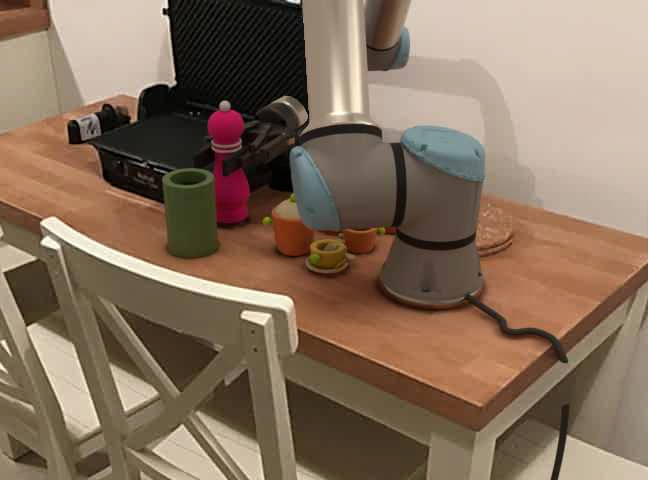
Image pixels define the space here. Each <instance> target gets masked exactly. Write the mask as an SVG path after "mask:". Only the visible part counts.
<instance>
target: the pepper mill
mask: <svg viewBox="0 0 648 480" xmlns="http://www.w3.org/2000/svg"><path fill="white" fill-rule="evenodd" d="M244 124H245V122H244V120H243V117H242V115H241V114H240V113H239V112H238V111H235V110H232V109H231V104H230V102H229V101H227V100H222V101H221V102H220V103H219V110H217V111H214V112H213V113H212V114H211V115H210V116H209V119H208V121H207V132H208V135H210V136H211V137H212V138H213V140H212V142H211V143H212V150H213V151H215V161H214V167H213V171H212V174H214V182H215V200H216V219H217V223H218V222H219V223H222V224H234V223H239V222H242V221H244V220H246V219H247V218H248V215H249V213H248V204H247V203H246V202H247V201H248V200H249V198H250V196H251V195H250V194H251V191H250V184H249V182H248V179H247V176H246V174H245V172H244V170H243V167H241V168H240V169H238V170H237V171H235V172H234V173H232V174H230V175H229V176H227V177H224V176H223V172H222V160H223V159H225V158H226V157H228V156H230V155H231V154H233V153H235V152H236V151H238V150H240V149H241V148H243V147H242V145H241V142H242V140H241V139H240V136H241V135H242V133H243V131H244Z"/></svg>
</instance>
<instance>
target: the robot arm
mask: <svg viewBox="0 0 648 480" xmlns="http://www.w3.org/2000/svg"><path fill="white" fill-rule="evenodd" d="M301 2H302V4H301V5H302V16H303V23H304V40H305V58H306V75H307V93H308V110H309V124H308V126H307V127H306V128H305V129H304V130H303V131H302V133H301V134H300V135H299V136H298V137H299V145H296V138H295V133H296V132H297V128H299V127H300V126H301V125H303V124H304V123H305V122H306V121H307V119H308V114H307V112H306V110H305V108H304V106H303V105H302V104H301V103H300V102H299V101H298V100H297V99H295V98H293V97H291V96H285V95H283V96H282V97H279V98H277V99H276V100H274V101H272V102H271V103H269V104H267V105H266V106H264V107H262V108H260V109H259V110H258V111H257V112H256V114H255V115H254V117H253V119H252V120H251V121H249V122H244V131H243V133H242V135H241V136H240V139H241V140H242V142H241V145H242V148H241V149H240V150H238V151H236V152H235V153H233V154H231V155H230V156H228V157H226V158H225V159H223V160H222V172H223V176H224V177H227V176H229V175H230V174H232V173H234V172H235V171H237V170H238V169H240V168H244V167H247V166H249V165H250V164H256V163H257V162H259V164H261V165H266V164H268V163H270V162H271V161H272V160H274V159H275V158H277V157H279V156H280V155H282V154H283V153H284V152H286V151H288V150H290V149H291V150H290V152H289V167H290V172H291V173H290V178H291V185H292V189H293V193H294V196H295V201H296V205H297V209H298V212H299V216H300V218H301V220H302V222H303V224H304V225H305V226H306V227H307V228H309V229H311V230H315V231H328V230H333V231H334V232H333V233H339V232H338V231H339V230H343V229H363V228H385V227H396V231H395V233H394V237H393V240H392V243H391V246H390V248H389V251H388V254H387V256H386V259H385V260H384V262H383V264H382V266H381V269H380V272H379V273H380V274H379V287H380V289H381V291H382V292H383V294H385V295H386V296H387V297H388V298H390V299H391V300H393V301H395V302H397V303H400V304H402V305H404V306H408V307H412V308H417V309H424V310H449V309H455V308H458V307H459V308H460V307H462V306H463V307H464V306H466V305H469V304H471V305H472V306H474V307H475V308H477V309H478V310H480V311H482V312H483V313H484V314H486V315H487V316H489V317H490V318H492V319H494V320H495V321H496V322H497V323H498V324H499V330H500V332H501V333H502V334H504V335H507V336H510V337H520V336H529V335H530V336H535V337H539V338H542V339H544V340H546V341H548V342H549V343H550V344H551V345H552V347H553V349H554V351H555V353H556V355H557V357H558V359H559V362H560V363H562V364H568V363H569V359H568V356H567V353H566V351H565V349H564V347H563V346H562V344H561V342H560V340H559V339H558V338H557V336H555V335H553V334H552V333H550V332H548V331H546V330H544V329H540V328H536V327H529V326H528V327H521V328H511V327H508V322H507V320H506V318H505V317H503V316H502V315H501V314H500V313H498V312H497V311H496V310H494V309H492V308H491V307H489V306H488V305H486V304H485V303H484V302H482V301H481V300H480V299H478V298H479V297H480V295H481V293H482V290H483V285H484V274H483V273H484V272H483V269H482V265H481V260H480V259H481V258H480V255H479V250H478V246H477V240H476V239H477V232H478V231H477V230H478V224H479V216H480V209H481V200H482V193H483V186H484V181H485V179H486V172H485V171H486V169H485V168H486V150H485V148H484V146H483V144H482V143H481V142H480V141H479V140H478V139H477V138H475V137H473V136H472V135H470V134H468V133H466V132H463V131H461V130H457V129H453V128H449V127H445V126H440V125H439V126H438V125H414V126H413V127H408V128H406V129H405V130H403V132H402V134H401V136H400V141H398V142H397V141H396V142H384V140H383V130H382V127H381V126H380V125H379V124H378V123H377V122H376V121H375V120H373V118H372V117H371V108H370V106H371V105H370V89H369V87H370V86H369V74H368V72H388V71H394V70H401V69H404V68H405V67H406V66H408V65H407V64H408V63H409V60H410V53H411V39H410V36H411V35H410V32H409V29H408V28H407V26H405V24H406V20H407V17H408V14H409V10H410V7H411V3H412V0H301ZM212 140H213V138H212V137H211V136H210V134H208V135H206V136H204V138H203V143H204V144H203V145H204V146H203V147H202V148H200V149H199V150H198V151H196V152H195V153H193V154H192V159H193V168H196V169H203V168H205V167H207V166H208V165H211V163H214V162H215V151H213V150H212V143H211V142H212ZM570 404H571V403H569V402H568V403H566V404H563V405H561V410H560V411H561V412H560V425H559V433H558V441H557V447H556V453H555V458H554V462H553V467H552V471H551V476H550V480H559V479H560V473H561V469H562V464H563V459H564V455H565V449H566V444H567V437H568V429H569V419H570Z"/></svg>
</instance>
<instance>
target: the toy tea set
mask: <svg viewBox="0 0 648 480" xmlns="http://www.w3.org/2000/svg"><path fill="white" fill-rule="evenodd" d="M262 225H263V226H264V227H270V226H272V227H273V231H274V239H275V245H276V249H277V251H278V252H279V253H280V254H283V255H285V256H289V257H290V256H292V257H296V256H297V257H298V256H303V255H306V254H308V253H310V255H308V257H306V259H305V266H306V267H307V268H308V269H309V270H310V271H312V272H315V273H318V274H336V273H339V272H342V271H343V270H345V269H346V268H347V267H348V265H349V263H354V262H356V259H357V258H356V257H357V256H355V255H354V254H366V253H368V252H370V251H372V250H373V248H374V245H375V241H376V237H377V236H378V237H383V236H384V235H385V234H386V233H387V234H395V231H396V227H385V228H363V229H343V230H339V231H338V232H337V233H338V236H337V237H338V239H339V240H337V239H332V238H331V239H330V238H323V239H318V240H315V241H314V238H315V233H316V230H311V229H309V228H307V227H306V226H305V225H304V224H303V222H302V220H301V218H300V216H299V212H298V209H297V205H296V201H295V196H294V192H293V193H292V194H291V195H290V196H289V198H288V199H285V200H283V201H282V202H280V203H279V204H278V205H276V206H274V207H273V209H272V210H271V217H269V216H265V217H263V220H262ZM328 231H329V232H331V233H332V232H333V233H335V232H334V231H333V230H327V232H328ZM340 240H343V241H344V242H342V241H340ZM347 251H349V252H351V253H349V252H347ZM352 253H353V254H352Z"/></svg>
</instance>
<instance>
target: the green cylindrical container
mask: <svg viewBox="0 0 648 480" xmlns="http://www.w3.org/2000/svg"><path fill="white" fill-rule="evenodd" d="M161 180H162V191H163V201H164V203H163V204H164V213H165V224H166V225H165V226H166V237H167V247H168V248H167V249H168V251H169V252H170V253H171V254H172V255H174V256H178V257H179V258H185V259H187V258H189V259H192V258H201V257H205V256H208V255H211V254H212V253H214V252H215V251H216V250H218V246H219V245H218V244H219V242H218V241H219V240H218V239H219V238H218V224H217V223H218V221H217V219H216V200H215V182H214V174H213V172H211V171H210V170H207V169H203V168H202V169H196V168H194V167H189V168H188V167H187V168H180V169H174V170H171V171H170V172H167V173H165V175H163V176H162V178H161Z"/></svg>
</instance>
